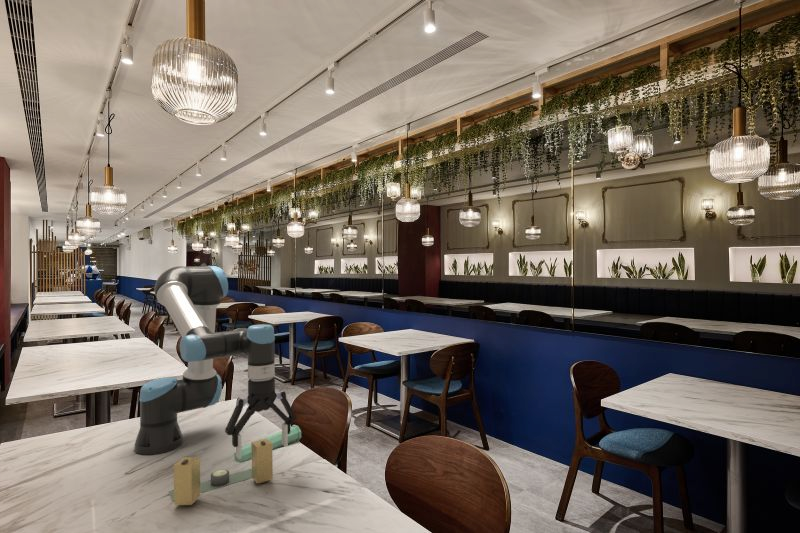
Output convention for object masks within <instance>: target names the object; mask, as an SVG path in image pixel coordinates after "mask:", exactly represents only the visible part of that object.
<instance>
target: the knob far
mask: <svg viewBox="0 0 800 533" xmlns="http://www.w3.org/2000/svg"><path fill="white" fill-rule="evenodd" d="M261 439H262V440H261ZM261 439H259V440H256V441H251V443H250V444H251V447H252V458H251V469H252V478H251V480H253V481H254V483H256V484H264V483H266V481H271V480H273V478H274V476H273V474H274V473H273V467H274V466H273V450H272V443H271V442H270V441H269V440H268V439H264V438H261Z"/></svg>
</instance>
